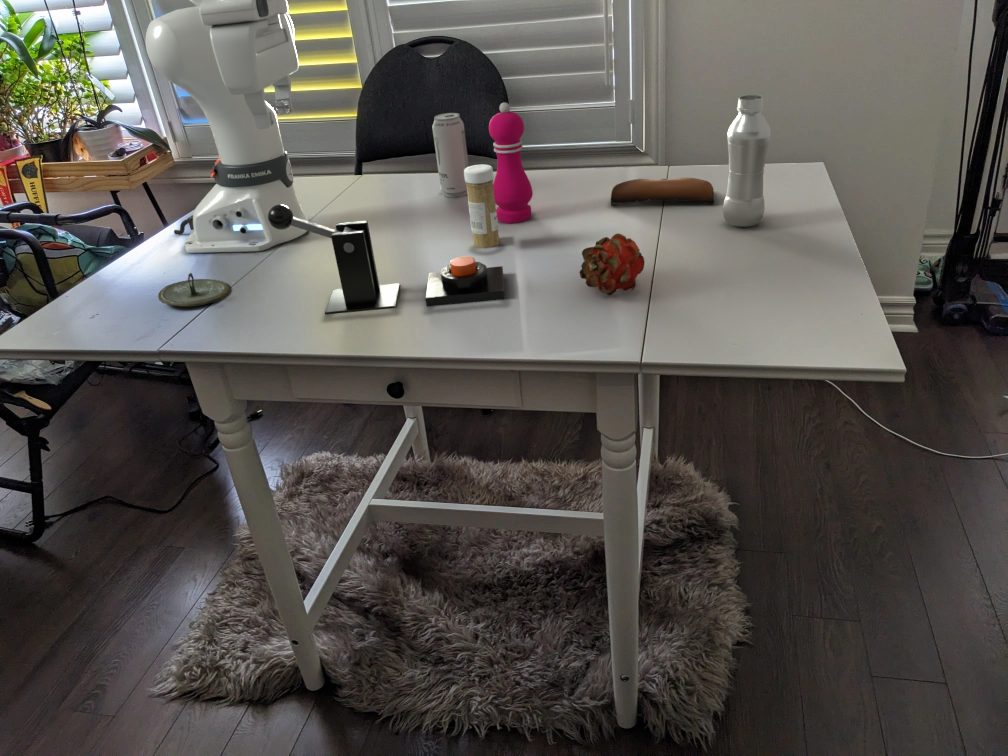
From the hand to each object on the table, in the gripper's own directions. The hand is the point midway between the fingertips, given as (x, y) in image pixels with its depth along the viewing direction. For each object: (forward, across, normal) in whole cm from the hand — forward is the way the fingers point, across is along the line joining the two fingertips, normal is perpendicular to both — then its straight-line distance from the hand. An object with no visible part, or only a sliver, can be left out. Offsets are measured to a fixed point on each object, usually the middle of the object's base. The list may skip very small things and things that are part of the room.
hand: (276, 120), depth 103 cm
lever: (+16, -2, +1) cm, 17 cm away
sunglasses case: (+27, -38, +54) cm, 72 cm away
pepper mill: (+26, -35, +28) cm, 52 cm away
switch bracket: (+27, -2, +6) cm, 28 cm away
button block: (+27, -3, +21) cm, 35 cm away
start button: (+24, -3, +21) cm, 32 cm away
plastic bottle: (+27, -23, +65) cm, 74 cm away
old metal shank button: (+27, -8, -21) cm, 35 cm away
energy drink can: (+26, -53, +16) cm, 61 cm away
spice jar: (+27, -21, +23) cm, 41 cm away
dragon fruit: (+28, -2, +42) cm, 51 cm away
